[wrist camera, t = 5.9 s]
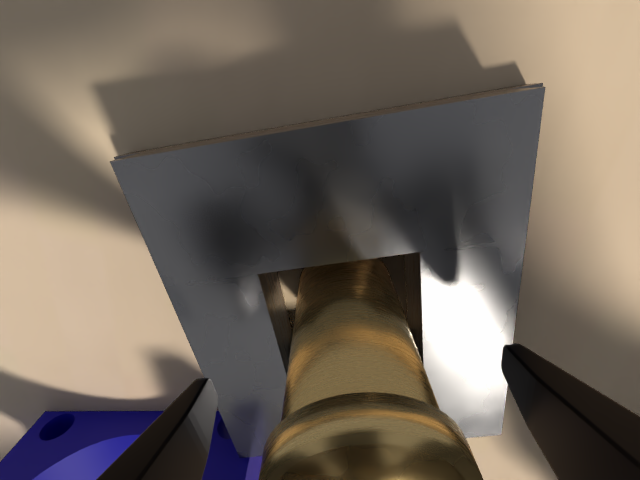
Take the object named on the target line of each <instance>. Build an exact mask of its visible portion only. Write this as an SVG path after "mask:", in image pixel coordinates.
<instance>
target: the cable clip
mask: <svg viewBox="0 0 640 480" xmlns="http://www.w3.org/2000/svg"><path fill="white" fill-rule="evenodd" d="M163 412H164V411H45V412H44V414H43V415H42V416H41V417H40V418H39V419H38V420H37V421H36V423H35V424H34V425H33V426H32V427H31V428H30V429H29V430H28V431H27V433H26V434H25V435H24V436H23V437H22V438H21V439H20V440H19V442H18V443H17V444H16V445H15V446H14V447H13V448H12V449H11V451H10V452H9V453H8V454H7V455H6V456H5V457H4V458H3V460H2V461H1V462H0V480H96V479H97V478H98V477H99V476H100V475H101V474H102V473H103V472H104V471H105V470H106V469H107V468H108V467H109V466H110V465H111V464H112V463H113V462H114V461H115V460H116V459H117V458H118V457H119V456H120V455H121V454H122V453H123V452H124V451H125V450H126V449H127V448H128V447H129V446H130V445H131V444H132V443H133V442H134V441H135V440H136V439H137V438H138V437H139V436H140V435H141V434H142V433H143V432H144V431H145V430H146V429H147V428H148V427H149V426H150V425H151V424H152V423H153V422H154V421H155V420H156V419H157V418H158V417H159V416H160V415H161V414H162V413H163ZM261 462H262V456H257V457H246V458H239V455H238V453H237V451H236V449H235V446H234V444H233V442H232V439H231V437H230V435H229V433H228V430H227V428H226V426H225V423H224V421H223V419H222V417H221V414H220V412H219V411H216V417H215V422H214V428H213V433H212V439H211V444H210V449H209V454H208V458H207V462H206V466H205V469H204V473H203V477H202V480H259V474H260V468H261Z"/></svg>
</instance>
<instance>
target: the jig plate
mask: <svg viewBox="0 0 640 480" xmlns="http://www.w3.org/2000/svg"><path fill="white" fill-rule="evenodd" d="M544 93H545V87H543V83H538V84H526V85H520V86H514V87H509V88H503V89H497V90H491V91H486V92H480V93H474V94H468V95H462V96H457V97H451V98H445V99H439V100H433V101H428V102H422V103H416V104H410V105H405V106H399V107H393V108H387V109H381V110H376V111H370V112H364V113H358V114H353V115H347V116H341V117H335V118H329V119H324V120H318V121H312V122H306V123H301V124H295V125H289V126H283V127H277V128H272V129H266V130H260V131H254V132H248V133H243V134H237V135H231V136H225V137H220V138H214V139H208V140H202V141H196V142H191V143H185V144H179V145H173V146H168V147H162V148H156V149H150V150H144V151H139V152H133V153H127V154H124V155H120V156H116V157H114V158H115V160H114V161H110V163H111V165H112V167H113V170H114V172H115V174H116V177H117V179H118V181H119V183H120V186H121V188H122V190H123V193H124V195H125V197H126V199H127V202H128V204H129V206H130V209H131V211H132V213H133V215H134V218H135V220H136V222H137V225H138V227H139V229H140V231H141V234H142V236H143V238H144V241H145V243H146V245H147V247H148V250H149V252H150V254H151V257H152V259H153V261H154V263H155V266H156V268H157V270H158V273H159V275H160V277H161V279H162V282H163V284H164V286H165V289H166V291H167V293H168V295H169V298H170V300H171V302H172V305H173V307H174V309H175V311H176V314H177V316H178V318H179V321H180V323H181V325H182V327H183V330H184V332H185V334H186V337H187V339H188V341H189V343H190V346H191V348H192V350H193V353H194V355H195V357H196V359H197V362H198V364H199V366H200V369H201V371H202V373H203V375H204V378H209V379H211V381H212V383H213V386H214V388H215V390H216V393H217V395H218V406H217V407H218V410H219V412H220V414H221V417H222V419H223V421H224V423H225V426H226V428H227V430H228V433H229V435H230V437H231V439H232V442H233V444H234V446H235V449H236V451H237V453H238V455H239V458H246V457H257V456H263V451H264V447H265V444H266V441H267V439H268V437H269V436H270V434H271V432H272V431H273V430H274V429H275V427H276V426H277V425H278V424H279V423H280V422H281V417H282V409H283V402H284V394H285V386H286V379H287V371H288V364H289V356H290V349H291V341H292V334H293V333H292V329H291V325H290V321H289V317H288V313H287V309H286V305H285V301H284V297H283V293H282V290H281V286H280V282H279V278H278V274H277V271H284V270H291V269H298V268H306V267H313V266H320V265H328V264H335V263H343V262H350V261H357V260H365V259H372V258H379V257H387V256H394V255H401V254H404V265H405V283H406V301H407V319H408V326H409V329H410V331H411V334H412V337H413V339H414V342H415V345H416V347H417V350H418V353H419V355H420V358H421V361H422V363H423V366H424V369H425V371H426V374H427V377H428V379H429V382H430V385H431V387H432V390H433V393H434V395H435V398H436V401H437V403H438V406H439V409H440V410H441V411H443V412H444V413H446V414H447V415H448V416H449V417H450V418H452V419H453V420H454V421H455V422H456V423H457V425H458V426H459V427H460V428H461V430H462V432H463V433H464V435H465V437H466V438H471V437H483V436H494V435H501V434H502V426H503V418H504V410H505V402H506V394H507V386H508V384H507V382H506V379H505V377H504V375H503V373H502V369H501V360H502V350H503V347H504V346H505V345H509V344H513V339H514V331H515V323H516V315H517V307H518V299H519V291H520V283H521V275H522V267H523V259H524V251H525V244H526V236H527V228H528V220H529V212H530V204H531V196H532V188H533V180H534V172H535V164H536V156H537V148H538V141H539V133H540V125H541V117H542V109H543V101H544Z"/></svg>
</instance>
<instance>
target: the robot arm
mask: <svg viewBox="0 0 640 480" xmlns="http://www.w3.org/2000/svg"><path fill="white" fill-rule="evenodd" d="M501 369H502V373H503V375H504V377H505V379H506V382H507V384H508V386H509V388H510V390H511V392H512V394H513V397H514V399H515V401H516V403H517V405H518V407H519V410H520V412H521V414H522V416H523V418H524V420H525V422H526V424H527V426H528V428H529V430H530V432H531V433H532V435H533V437H534V439H535V440H536V442H537V444H538V445H539V447H540V449H541V450H542V452H543V454H544V456H545V457H546V459H547V461H548V462H549V464H550V466H551V467H552V469H553V471H554V473H555V474H556V476H557V478H558V479H559V480H640V416H638V415H636V414H635V413H633V412H631V411H630V410H628V409H626V408H625V407H623V406H622V405H620V404H618V403H617V402H615V401H613V400H612V399H610V398H608V397H607V396H605V395H603V394H602V393H600V392H598V391H597V390H595V389H593V388H592V387H590V386H588V385H587V384H585V383H583V382H582V381H580V380H579V379H577V378H575V377H574V376H572V375H570V374H569V373H567V372H565V371H564V370H562V369H560V368H559V367H557V366H555V365H554V364H552V363H550V362H549V361H547V360H545V359H544V358H542V357H541V356H539V355H537V354H536V353H534V352H532V351H531V350H529V349H527V348H526V347H524V346H522V345H520V344H509V345H505V346H504V347H503V350H502V360H501ZM217 406H218V395H217V393H216V390H215V388H214V386H213V383H212V381H211V379H209V378H201V379H196V380H195V381H194V382H193V383H192V384H191V385H190V386H189V387H188V388H187V389H186V390H185V391H184V392H183V393H182V394H181V395H180V396H179V397H178V398H177V399H176V400H175V401H174V402H173V403H172V404H171V405H170V406H169V407H168V408H167V409H166V410H165V411H164V412H163V413H162V414H161V415H160V416H159V417H158V418H157V419H156V420H155V421H154V422H153V423H152V424H151V425H150V426H149V427H148V428H147V429H146V430H145V431H144V432H143V433H142V434H141V435H140V436H139V437H138V438H137V439H136V440H135V441H134V442H133V443H132V444H131V445H130V446H129V447H128V448H127V449H126V450H125V451H124V452H123V453H122V454H121V455H120V456H119V457H118V458H117V459H116V460H115V461H114V462H113V463H112V464H111V465H110V466H109V467H108V468H107V469H106V470H105V471H104V472H103V473H102V474H101V475H100V476H99V477H98V478H97V479H96V480H202V477H203V473H204V469H205V466H206V462H207V458H208V454H209V449H210V444H211V439H212V433H213V428H214V422H215V417H216V411H217Z"/></svg>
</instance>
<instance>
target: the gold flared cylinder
mask: <svg viewBox="0 0 640 480" xmlns="http://www.w3.org/2000/svg"><path fill="white" fill-rule="evenodd" d="M259 480H483V478H482V475H481V473H480V470H479V468H478V466H477V463H476V461H475V459H474V456H473V454H472V451H471V449H470V447H469V444H468V442H467V440H466V437H465V435H464V433H463V432H462V430H461V428H460V427H459V426H458V425H457V423H456V422H455V421H454V420H453V419H452V418H450V417H449V416H448V415H447V414H446V413H444V412H443V411H441V410H440V409H439V406H438V403H437V401H436V398H435V395H434V393H433V390H432V387H431V385H430V382H429V379H428V377H427V374H426V371H425V369H424V366H423V363H422V361H421V358H420V355H419V353H418V350H417V347H416V345H415V342H414V339H413V337H412V334H411V331H410V329H409V326H408V323H407V321H406V318H405V315H404V313H403V310H402V307H401V305H400V302H399V299H398V297H397V294H396V291H395V289H394V286H393V283H392V281H391V278H390V275H389V273H388V270H387V268H386V266H385V265H384V264H383V262H382V261H381V260H380V259H379V258H372V259H365V260H357V261H350V262H343V263H335V264H328V265H320V266H313V267H306V268H304V269H303V271H302V274H301V277H300V281H299V288H298V296H297V303H296V311H295V319H294V326H293V334H292V341H291V349H290V356H289V364H288V371H287V379H286V386H285V394H284V402H283V409H282V417H281V422H280V423H279V424H278V425H277V426H276V427H275V429H274V430H273V431H272V432H271V434H270V436H269V437H268V439H267V441H266V444H265V447H264V451H263V456H262V462H261V468H260V474H259Z"/></svg>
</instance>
